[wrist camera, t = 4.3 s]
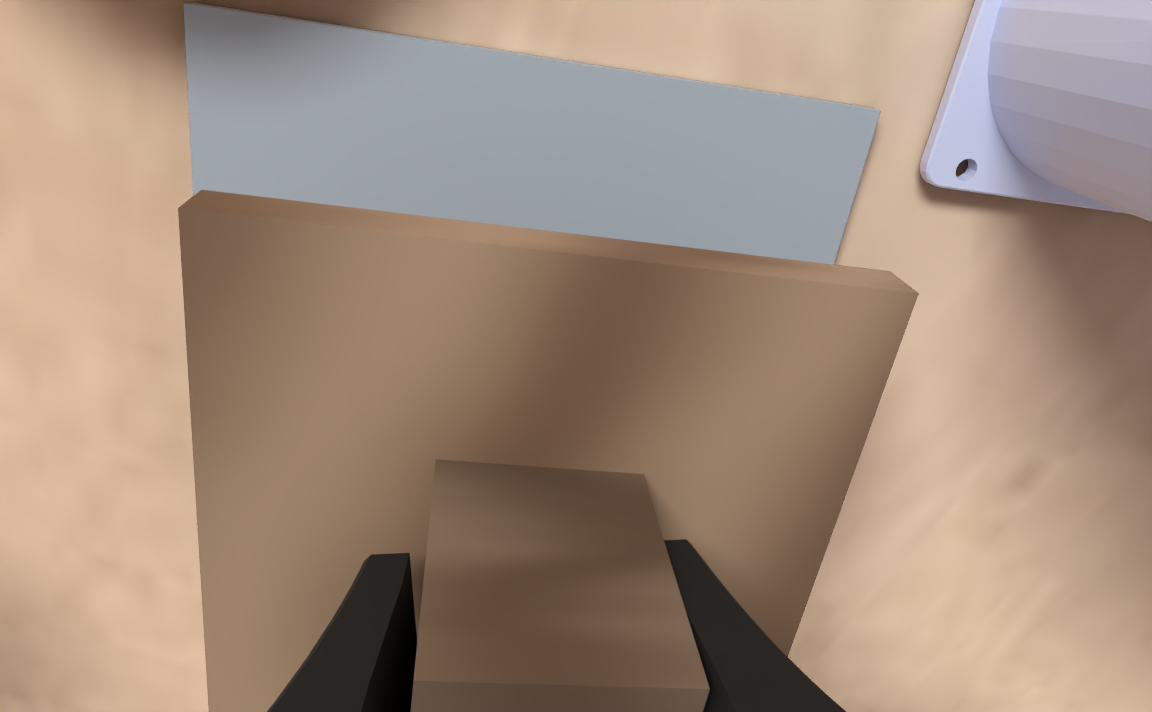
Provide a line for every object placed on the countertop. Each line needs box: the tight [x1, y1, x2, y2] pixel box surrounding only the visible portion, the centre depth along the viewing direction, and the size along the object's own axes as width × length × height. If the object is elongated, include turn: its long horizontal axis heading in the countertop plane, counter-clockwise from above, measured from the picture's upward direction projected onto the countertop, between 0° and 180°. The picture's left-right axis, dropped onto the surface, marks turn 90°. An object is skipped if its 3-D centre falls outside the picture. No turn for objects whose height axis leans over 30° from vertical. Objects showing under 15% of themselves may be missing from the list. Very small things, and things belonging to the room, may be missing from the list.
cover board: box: [178, 190, 918, 712], centre depth 12 cm, size 11×11×6 cm
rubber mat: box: [183, 2, 881, 265], centre depth 20 cm, size 15×15×1 cm
